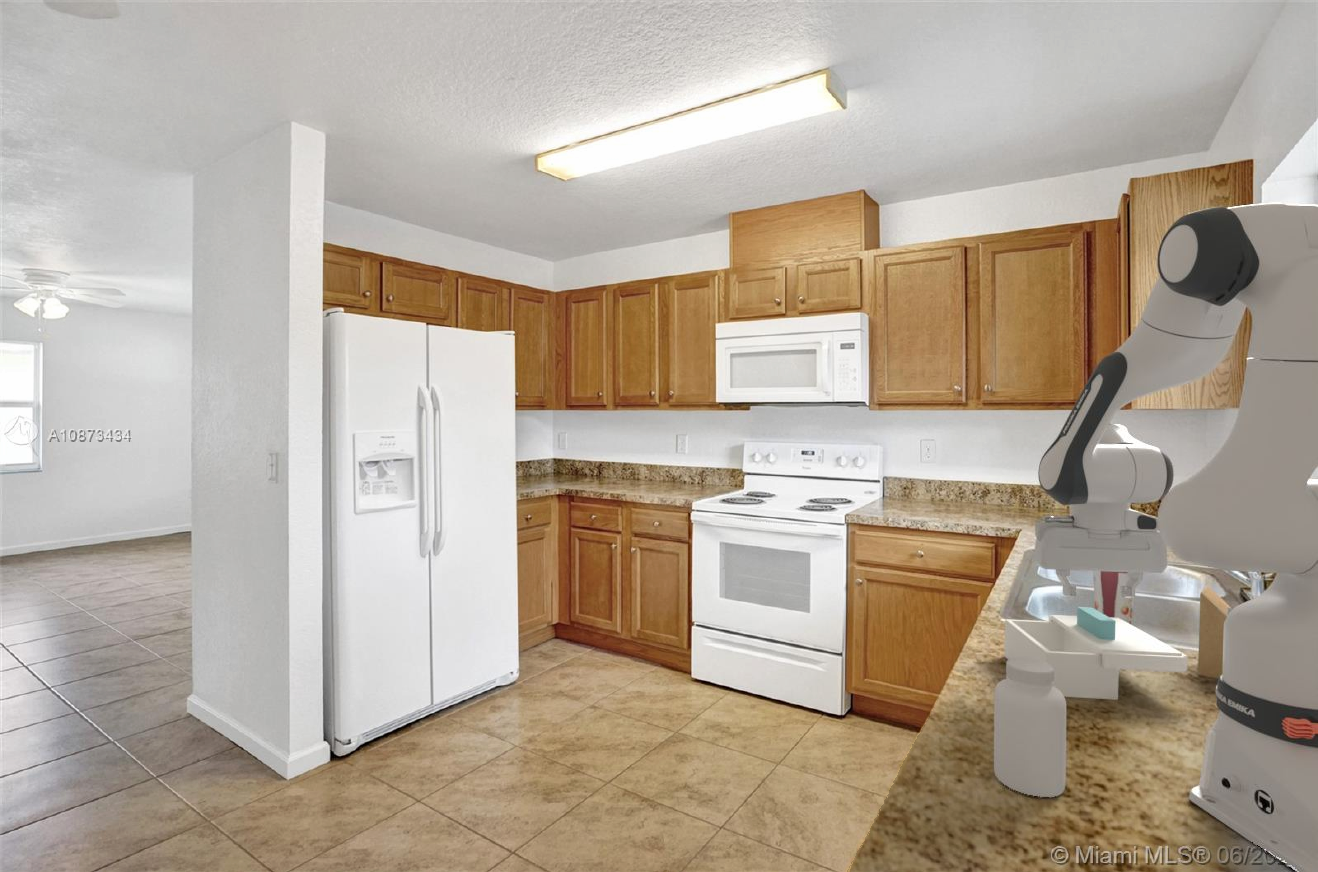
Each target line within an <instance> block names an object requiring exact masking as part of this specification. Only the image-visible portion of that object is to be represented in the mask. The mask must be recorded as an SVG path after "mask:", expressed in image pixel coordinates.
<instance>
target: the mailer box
mask: <svg viewBox="0 0 1318 872" xmlns="http://www.w3.org/2000/svg"><path fill="white" fill-rule="evenodd" d="M1004 658H1005V659H1006V660H1007V661H1008V660H1009V659H1012V658H1029V659H1035V660H1039V661H1042V662H1045V663H1048V664H1049V665H1051V666H1052V667H1053V668H1054V687H1055V688H1057V689H1058V690H1059V691H1060V692H1061V693H1062V694H1063V696H1064V698H1065V697H1066V698H1080V699H1095V700H1097V699H1098V700H1117V701H1118V700H1119V678H1120V677H1119V675H1120V674H1119V673H1120V672H1119V671H1120V669H1108V668H1103V667H1102V654H1101V653H1100V652H1098V651H1097V650H1095V649H1094V648H1092V647H1091V646H1089V645H1088V644H1086V643H1085V642H1083V641H1082V640H1081V639H1079V638H1078V637H1076V636H1075V635H1073V634H1072V633H1070V632H1069V631H1067V630H1066V629H1065V628H1063V627H1062V626H1060V625H1059V624H1057V623H1056V622H1054V621H1049V620H1032V619H1031V620H1030V619H1029V620H1028V619H1007V618H1005V624H1004Z"/></svg>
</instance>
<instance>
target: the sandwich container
mask: <svg viewBox="0 0 1318 872" xmlns="http://www.w3.org/2000/svg"><path fill="white" fill-rule="evenodd" d="M1199 596H1200V597H1199V625H1198V626H1199V627H1198V658H1197V660H1198V661H1197V662H1198V663H1197V675H1199V676H1203V677H1208V678H1211V679H1212V678H1213V679H1217V680H1218V677H1219V676H1220V675H1222V673H1223V639H1224V622H1225V620H1226V618H1227V616H1228V614H1229V613H1230V612H1231V610H1232V609H1233V608H1232V607H1231V606H1230V605H1229V604H1228V603H1227V602H1226V601H1225V600H1224V599H1223V598H1222V597H1220V596H1219V594H1218V593H1217V592H1215V591H1214V590H1213V589H1212V587H1210V586H1209V585H1208V584H1206V585H1205V587H1203V589H1202V590H1201V591H1200V594H1199Z"/></svg>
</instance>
